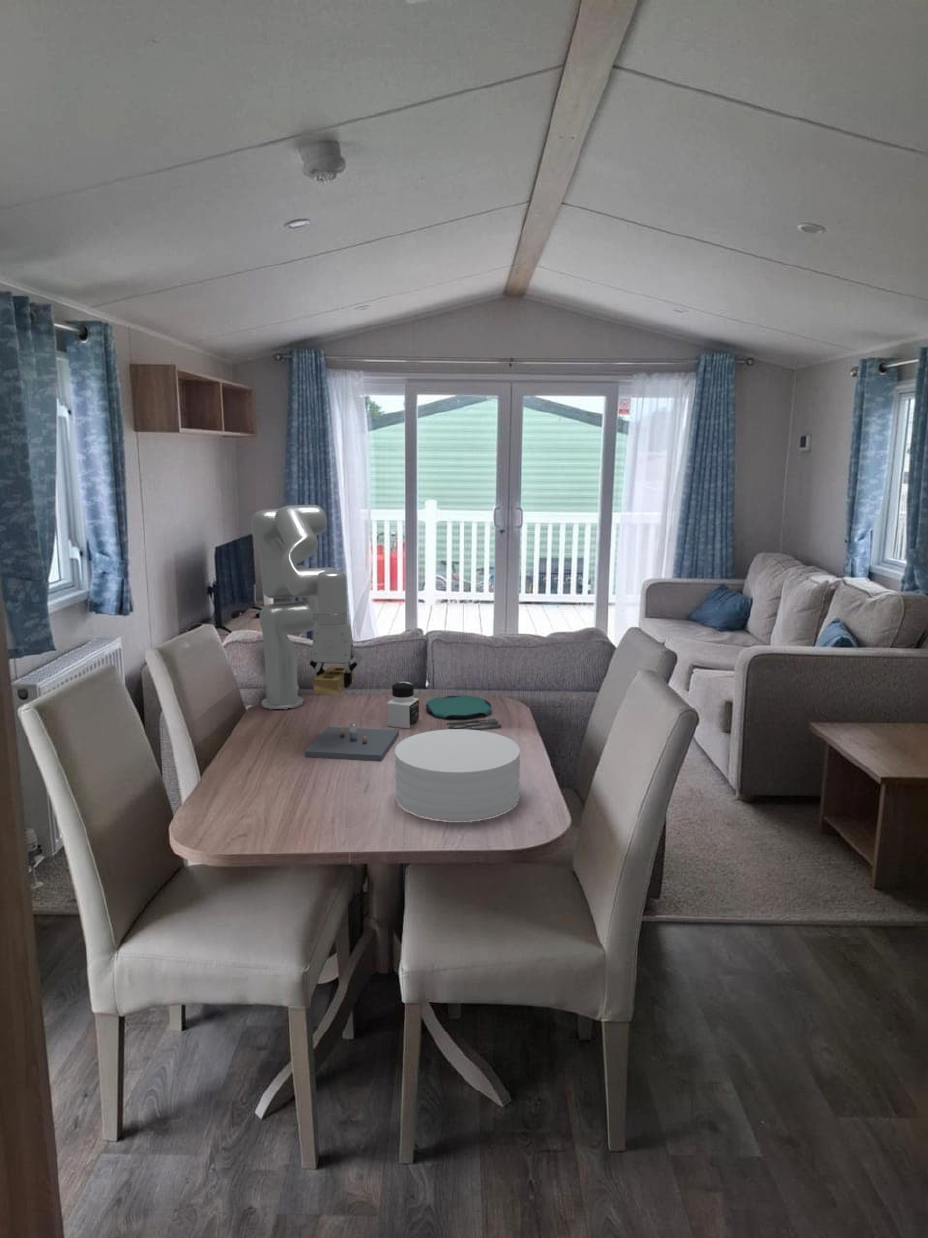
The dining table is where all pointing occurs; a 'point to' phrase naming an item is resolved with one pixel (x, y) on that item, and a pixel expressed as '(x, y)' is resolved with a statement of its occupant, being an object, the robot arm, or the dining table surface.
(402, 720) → the medicine bottle
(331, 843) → the dining table surface
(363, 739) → the pegs
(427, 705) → the cutlery set
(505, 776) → the plate stack
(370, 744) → the slate board
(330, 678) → the tan slatted rectangular block
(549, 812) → the dining table surface
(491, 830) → the dining table surface
